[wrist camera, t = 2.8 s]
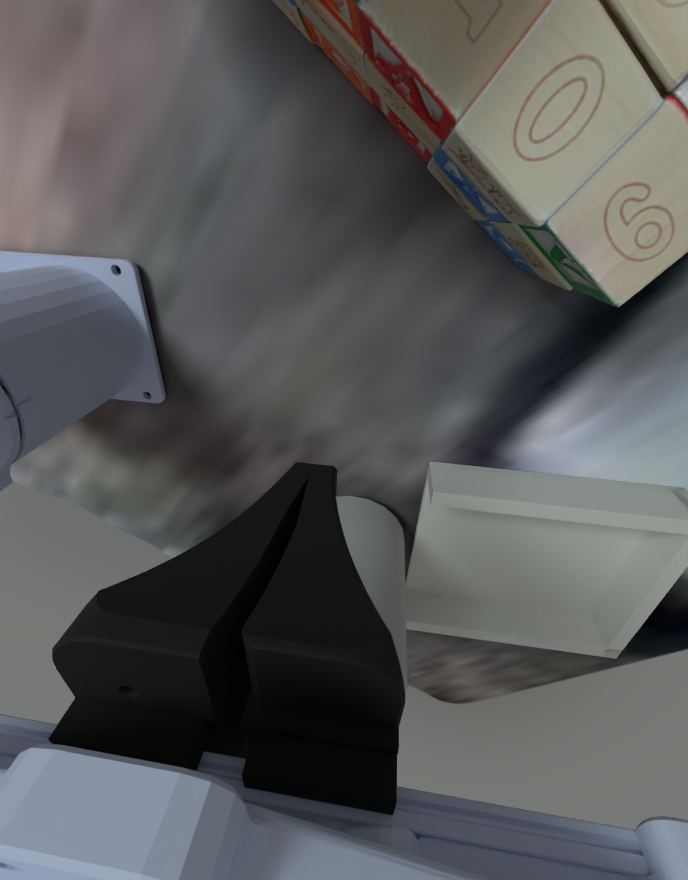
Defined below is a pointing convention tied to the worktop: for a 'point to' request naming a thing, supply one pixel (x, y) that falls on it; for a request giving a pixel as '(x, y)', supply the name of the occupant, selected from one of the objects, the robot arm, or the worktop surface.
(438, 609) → the tray
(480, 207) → the stack of blocks
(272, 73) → the worktop surface
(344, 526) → the can
